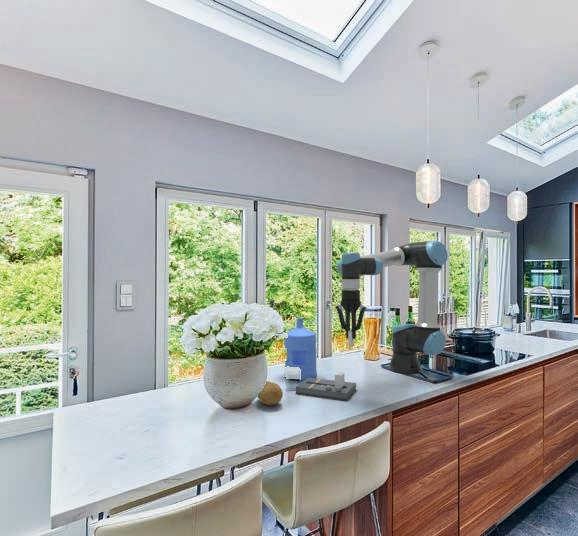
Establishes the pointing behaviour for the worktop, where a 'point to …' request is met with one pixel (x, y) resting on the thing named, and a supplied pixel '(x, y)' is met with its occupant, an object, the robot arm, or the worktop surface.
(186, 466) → the worktop surface
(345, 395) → the console
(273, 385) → the potato
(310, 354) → the water jug
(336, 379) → the fader
